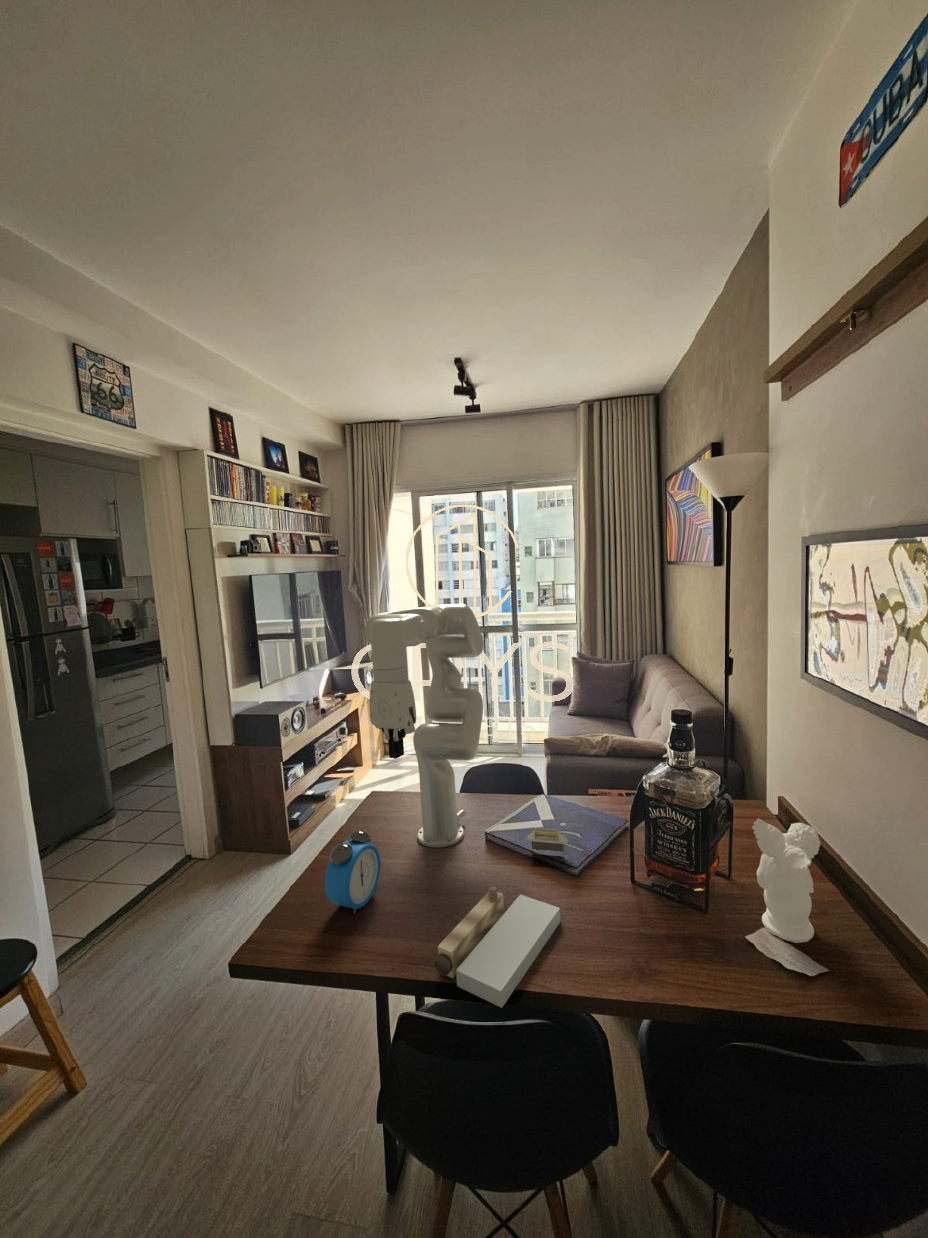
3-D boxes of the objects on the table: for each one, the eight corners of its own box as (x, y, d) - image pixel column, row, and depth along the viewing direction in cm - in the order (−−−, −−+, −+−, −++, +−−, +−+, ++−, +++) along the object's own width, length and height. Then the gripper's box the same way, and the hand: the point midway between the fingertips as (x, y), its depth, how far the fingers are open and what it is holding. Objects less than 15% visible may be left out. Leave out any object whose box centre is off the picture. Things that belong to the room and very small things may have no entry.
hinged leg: (491, 911, 109) (489, 883, 109) (504, 916, 108) (503, 887, 107) (434, 976, 93) (432, 943, 92) (449, 983, 91) (447, 949, 90)
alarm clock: (349, 923, 109) (343, 855, 107) (325, 917, 111) (319, 850, 110) (383, 887, 120) (378, 825, 119) (361, 882, 123) (356, 821, 121)
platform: (517, 840, 139) (515, 816, 138) (586, 846, 134) (585, 822, 133) (508, 865, 127) (507, 839, 127) (584, 873, 122) (583, 846, 122)
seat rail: (521, 907, 110) (520, 894, 110) (560, 922, 105) (559, 908, 105) (457, 986, 91) (456, 970, 90) (501, 1008, 86) (500, 991, 85)
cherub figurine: (807, 915, 104) (811, 809, 101) (841, 962, 91) (846, 843, 89) (742, 910, 106) (744, 807, 103) (766, 955, 93) (769, 839, 91)
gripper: (353, 676, 114) (360, 756, 116) (406, 681, 106) (412, 768, 107) (377, 669, 120) (383, 746, 122) (428, 673, 112) (434, 756, 114)
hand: (396, 756), depth 115 cm, fingers closed
